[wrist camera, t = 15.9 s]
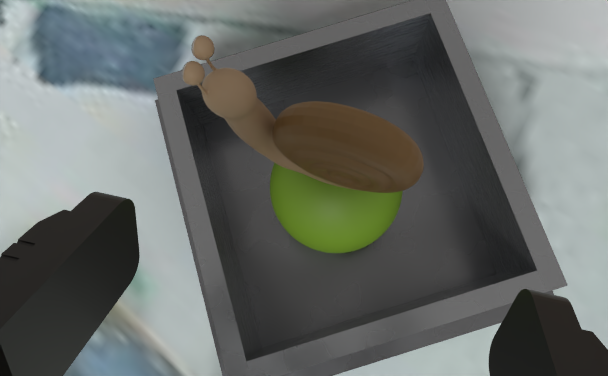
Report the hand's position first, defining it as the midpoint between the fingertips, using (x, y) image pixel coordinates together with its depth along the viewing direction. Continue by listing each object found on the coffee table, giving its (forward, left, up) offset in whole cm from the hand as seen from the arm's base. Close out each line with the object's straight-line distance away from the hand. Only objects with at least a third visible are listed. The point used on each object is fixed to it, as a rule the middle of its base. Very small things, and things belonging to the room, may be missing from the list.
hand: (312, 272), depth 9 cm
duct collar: (+2, +4, -12) cm, 13 cm away
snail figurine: (+1, +4, -12) cm, 12 cm away
